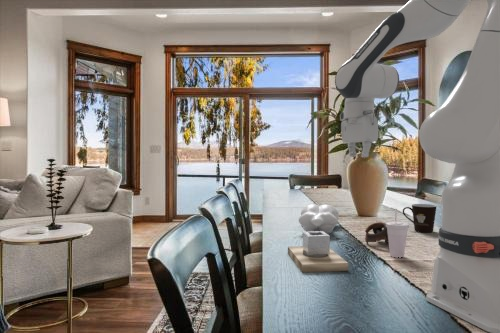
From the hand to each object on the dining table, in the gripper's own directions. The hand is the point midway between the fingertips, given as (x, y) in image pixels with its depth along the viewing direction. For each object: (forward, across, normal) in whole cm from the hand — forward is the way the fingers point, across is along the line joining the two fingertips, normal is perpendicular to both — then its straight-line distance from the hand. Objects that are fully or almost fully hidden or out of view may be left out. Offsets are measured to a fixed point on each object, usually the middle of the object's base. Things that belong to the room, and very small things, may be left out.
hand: (358, 157), depth 115 cm
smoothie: (+29, -10, -8) cm, 32 cm away
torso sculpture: (+30, +28, +4) cm, 41 cm away
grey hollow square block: (+26, -12, +17) cm, 33 cm away
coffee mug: (+29, +23, -35) cm, 51 cm away
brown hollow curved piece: (+29, +5, -10) cm, 31 cm away
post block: (+29, -12, +17) cm, 36 cm away
